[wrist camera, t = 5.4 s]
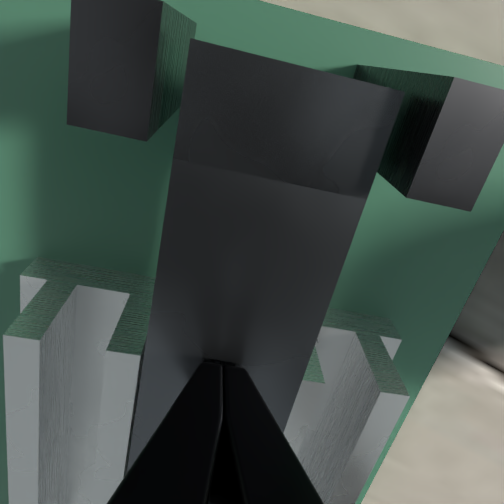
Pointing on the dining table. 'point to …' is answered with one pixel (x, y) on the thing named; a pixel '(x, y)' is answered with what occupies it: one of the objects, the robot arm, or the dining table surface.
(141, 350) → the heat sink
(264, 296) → the strap
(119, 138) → the circuit board
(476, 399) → the dining table surface
